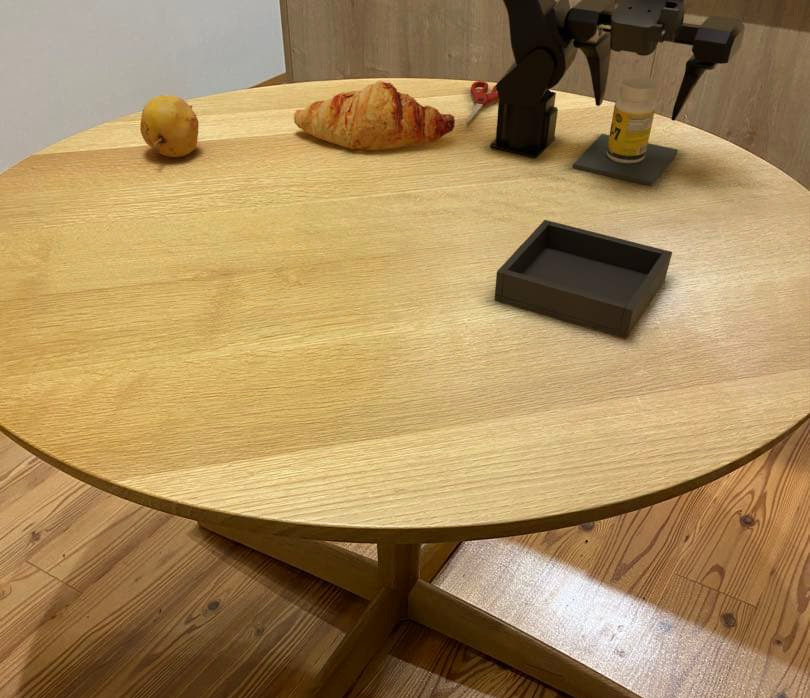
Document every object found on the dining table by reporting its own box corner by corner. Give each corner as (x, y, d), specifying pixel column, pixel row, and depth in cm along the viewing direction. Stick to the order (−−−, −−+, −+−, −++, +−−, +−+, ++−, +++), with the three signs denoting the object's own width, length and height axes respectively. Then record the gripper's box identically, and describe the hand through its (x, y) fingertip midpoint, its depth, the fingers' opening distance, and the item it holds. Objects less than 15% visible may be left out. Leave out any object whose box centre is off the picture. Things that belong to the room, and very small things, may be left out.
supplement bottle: (602, 148, 99) (615, 74, 93) (640, 147, 99) (655, 73, 93) (609, 165, 96) (623, 90, 90) (648, 164, 96) (665, 89, 90)
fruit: (176, 125, 93) (213, 91, 99) (121, 103, 93) (161, 71, 99) (176, 179, 98) (211, 144, 104) (124, 159, 98) (163, 125, 104)
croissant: (293, 168, 105) (277, 124, 97) (305, 104, 107) (290, 55, 100) (451, 174, 102) (448, 129, 95) (460, 108, 105) (458, 59, 97)
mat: (572, 167, 97) (572, 163, 96) (601, 137, 103) (602, 133, 102) (651, 185, 94) (652, 181, 93) (677, 153, 99) (677, 149, 99)
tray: (494, 299, 78) (496, 271, 76) (541, 247, 85) (544, 219, 82) (626, 339, 74) (633, 310, 71) (665, 280, 80) (672, 251, 78)
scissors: (511, 91, 113) (511, 83, 112) (486, 130, 104) (486, 121, 103) (474, 86, 114) (474, 79, 113) (446, 124, 105) (446, 116, 105)
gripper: (552, -40, 81) (535, 121, 92) (737, -16, 74) (694, 154, 86) (592, -65, 87) (571, 89, 99) (766, -45, 81) (721, 117, 92)
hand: (635, 112), depth 94 cm, fingers open, 9 cm apart
